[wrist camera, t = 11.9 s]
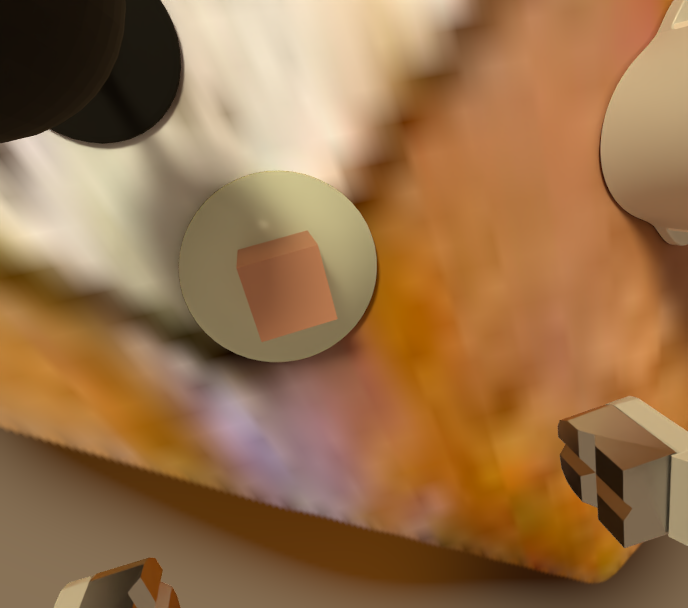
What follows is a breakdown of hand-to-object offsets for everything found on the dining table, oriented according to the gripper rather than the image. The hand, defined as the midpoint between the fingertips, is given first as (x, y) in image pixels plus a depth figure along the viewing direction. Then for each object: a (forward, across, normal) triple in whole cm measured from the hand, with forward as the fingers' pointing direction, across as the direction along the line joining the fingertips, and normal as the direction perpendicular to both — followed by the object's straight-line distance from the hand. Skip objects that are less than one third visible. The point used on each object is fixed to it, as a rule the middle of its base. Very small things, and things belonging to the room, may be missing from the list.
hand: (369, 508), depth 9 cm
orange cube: (+25, +1, +2) cm, 25 cm away
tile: (+26, +1, +2) cm, 26 cm away
